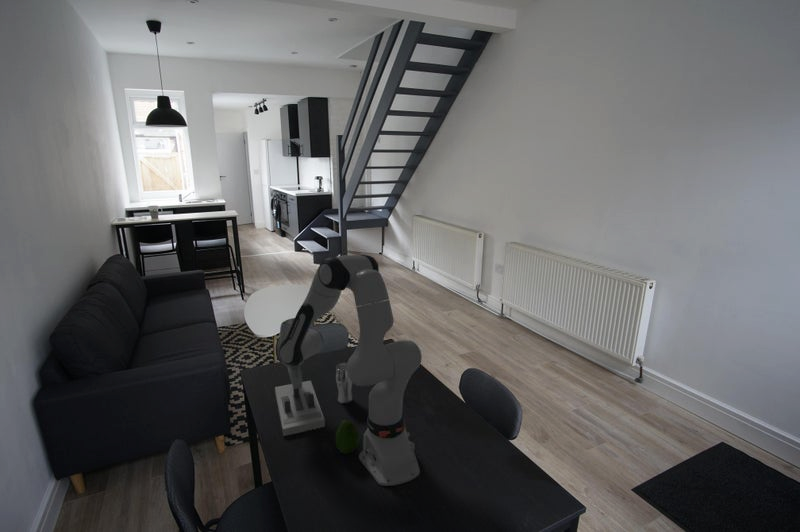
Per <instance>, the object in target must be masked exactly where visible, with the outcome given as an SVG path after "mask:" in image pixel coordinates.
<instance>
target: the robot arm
mask: <svg viewBox="0 0 800 532" xmlns="http://www.w3.org/2000/svg"><path fill="white" fill-rule="evenodd" d="M310 284H311V285H310V286H309V287H310V288H309V290H308V292H307V294H306V297H305V299H304V300H303V302H302V304H301V305H300V307H299V309H298V311H297V313H296V315H295V317H293V318H288V319H285V320H284V321H282V322H281V324H280V330H279V338H280V345H279V349H278V354H279V358H280V360H281V363H282V364H283V365H284V366H285V367H286V368H287V372H288V375H289V378H290V382H291V383H290V384H292V387H293V389H299V388H302V382H303V377H302V369H301V365H302V364H303V363H304V361H305V360H307V359H309V358H311V357H312V356H313V355H315V354H317V353H319V352H320V351H321V350H322V349H323V347H324V339H323V335H322V333H321V332H320V331H318V330H317V329H314V328H313V329H312V328H311V327H312V326H313V324H314V323H315V322H317V321H318V320H319V319H320V318H321V317H323V316H324V315H326V314H327V313H329V312H330V311H332V310H333V309H334V308H335V306H336V305H337V303H338V302H339V299H340V296H341V293H342V291H345V290H346V289H349V290H350V291H351V292H352V294H353V297H354V304H355V310H356V313H357V319H358V325H359V326H358V327H359V336H358V342H357V345H356V348H355V350H354V351H353V353H352V354H351V355H350V357H349V358H348V361H347V362H346V363H347V374H348V377H349V379H350V380H351V381H352V382H353V383H352V384H353V385H355V386H357V387H366V386H367V387H368V386H373V385H374V386H373V387H372V389H371V391H370V392H369V395H368V415H367V419H366V420H367V429H366V430H365V432H364V434H363V441H362V448H363V449H362V450H361V452H359V454H358V459H359V460H360V462H361V463H362V464H363V466H364V468H366V469H367V471H368V473H370V475H371V476H372V477H373V478H374V480H375V481H376V483H378V485H380V486H386V487H387V486H389V487H390V486H397V485H401V484H405V483H408V482H410V481H413V480H414V479H415V478H418V476H419V475H420V474H421V469H420V467H419V464H418V460H417V457H416V454H415V450H416V447H415V442H412V441H410V440H409V438H410V437H411V435H410V432H407V429H406V423H405V417H404V412H403V401H404V394H405V390H406V387H407V385H408V382H409V381H410V379H411V377H412V375H413V374H414V373H415V372H416V370H417V369H418V368H419V367H420V365H421V364H422V358H423V357H422V356H423V355H422V351H421V348H420V346H419V345H418V344H417V343H416V342H415V341H413V340H410V339H409V340H396V341H393V342H389V343H386V344H384V339H385V336H386V334H387V333H388V332H389V331H390V330H391V329H392V327H393V326H394V323H395V321H394V320H395V319H394V315H393V310H392V306H391V301H390V295H389V293H388V288H387V286H386V283H385V281H384V278H383V276H382V274H381V273H380V269H379V263H378V262H377V260H376V259H375V257H373V256H370V255H366V254H360V255H357V254H356V255H354V254H351V255H350V254H346V255H344V254H343V255H340V256H339V255H338V256H330V257H327V258H325V259H323V260H322V261H321V262H320V264H319V266H318V268H317V270H316V272H315V274H314V275H313V279H312V281H311V283H310Z"/></svg>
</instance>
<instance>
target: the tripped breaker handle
mask: <svg viewBox="0 0 800 532" xmlns="http://www.w3.org/2000/svg"><path fill="white" fill-rule="evenodd" d="M293 392H294V398H296V397H299V389H293Z"/></svg>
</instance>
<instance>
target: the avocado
mask: <svg viewBox="0 0 800 532" xmlns="http://www.w3.org/2000/svg"><path fill="white" fill-rule="evenodd" d="M359 443H360V434H359V431H358V430H357V428H356V426H355V424H354V423H353V421H351V420H350V419H344V420H342V421H341V423H340V424H339V426H338V428H337V430H336V433H335V445H336V448H337V449H338V451H339V452H340V453H342V454H344V455H345V454H347V455H349V454H352V453H353V452H354V451H355V450H356V448H358V445H359Z"/></svg>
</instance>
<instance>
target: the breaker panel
mask: <svg viewBox="0 0 800 532" xmlns="http://www.w3.org/2000/svg"><path fill="white" fill-rule="evenodd" d="M274 394H275V400H276V403H277V404H276V405H277V411H278V414H279V419H280V425H281V429H282V430H281V431H282V437H286V436H291V435H294V434H299V433H304V432H309V431H313V430H318V429H321V427H322V428H325V427H326V420H325V416H324V414H323V411H322V409H321V406H320V403H319V400H318V398H317V394H316V390H315V389H314V386H313V382H312V380H307V381H302V388H299V397H296V398H294V392H293V387H292V383H290V384H289V383H288V384H285V385H279V386H275V387H274ZM317 428H318V429H317ZM312 429H313V430H312ZM308 430H309V431H308Z"/></svg>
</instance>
